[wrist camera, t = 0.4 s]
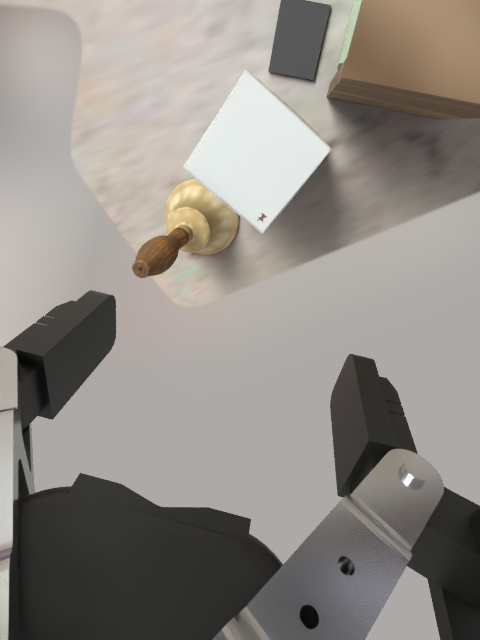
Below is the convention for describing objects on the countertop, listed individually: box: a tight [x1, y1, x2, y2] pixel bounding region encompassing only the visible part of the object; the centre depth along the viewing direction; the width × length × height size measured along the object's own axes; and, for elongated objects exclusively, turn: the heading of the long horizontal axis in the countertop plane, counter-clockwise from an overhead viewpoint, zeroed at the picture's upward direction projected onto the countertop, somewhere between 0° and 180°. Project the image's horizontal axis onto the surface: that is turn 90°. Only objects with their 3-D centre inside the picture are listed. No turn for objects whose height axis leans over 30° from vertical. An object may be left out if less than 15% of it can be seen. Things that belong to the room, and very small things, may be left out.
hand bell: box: [132, 178, 239, 278], centre depth 31 cm, size 8×8×16 cm
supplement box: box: [184, 70, 331, 234], centre depth 28 cm, size 7×7×13 cm
